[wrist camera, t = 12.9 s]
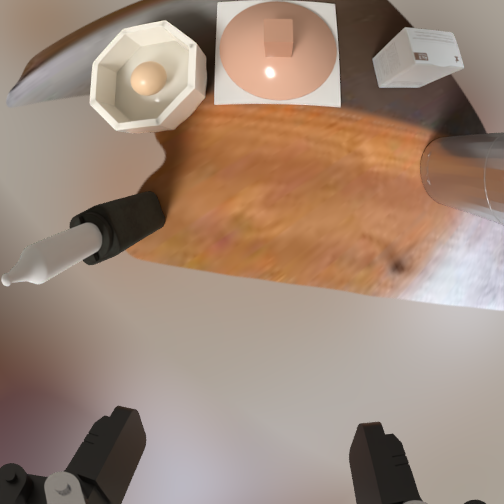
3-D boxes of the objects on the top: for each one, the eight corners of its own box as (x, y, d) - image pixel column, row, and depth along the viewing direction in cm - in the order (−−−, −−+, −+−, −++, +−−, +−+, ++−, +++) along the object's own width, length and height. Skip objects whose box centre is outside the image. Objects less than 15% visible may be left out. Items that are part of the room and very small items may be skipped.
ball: (172, 64, 32) (160, 54, 28) (171, 96, 33) (158, 89, 29) (140, 69, 32) (125, 60, 28) (138, 100, 34) (123, 94, 29)
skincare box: (410, 59, 30) (455, 29, 19) (418, 90, 32) (467, 69, 20) (369, 58, 31) (403, 22, 19) (377, 90, 32) (416, 64, 21)
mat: (334, 5, 29) (334, 4, 29) (339, 107, 33) (340, 106, 33) (218, 4, 30) (217, 2, 30) (215, 104, 34) (214, 104, 34)
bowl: (209, 34, 32) (198, 15, 26) (206, 128, 35) (194, 122, 29) (117, 49, 33) (96, 36, 27) (112, 137, 36) (88, 134, 30)
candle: (154, 188, 38) (7, 231, 14) (167, 225, 39) (39, 310, 15) (122, 202, 39) (-27, 256, 15) (135, 237, 40) (2, 323, 16)
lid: (331, 7, 29) (339, -14, 23) (337, 103, 33) (348, 92, 27) (221, 6, 30) (213, -15, 24) (219, 101, 34) (209, 90, 28)
